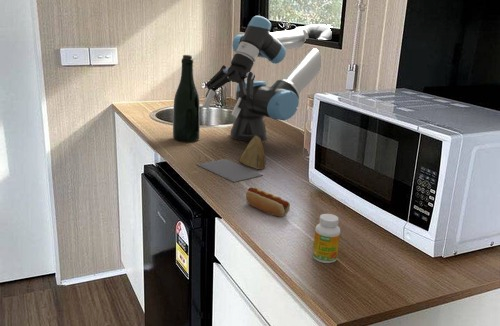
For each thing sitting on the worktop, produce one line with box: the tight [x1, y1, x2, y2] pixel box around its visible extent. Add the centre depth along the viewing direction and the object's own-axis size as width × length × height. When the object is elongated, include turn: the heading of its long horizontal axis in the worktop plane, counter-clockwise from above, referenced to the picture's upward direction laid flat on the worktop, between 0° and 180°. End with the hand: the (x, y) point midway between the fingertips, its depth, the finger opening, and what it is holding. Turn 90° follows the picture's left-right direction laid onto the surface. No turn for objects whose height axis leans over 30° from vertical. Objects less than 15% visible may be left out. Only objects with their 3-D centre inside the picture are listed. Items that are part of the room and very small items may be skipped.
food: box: [245, 187, 291, 218], centre depth 131 cm, size 14×6×5 cm, turn 46°
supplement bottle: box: [312, 213, 341, 264], centre depth 106 cm, size 5×5×10 cm
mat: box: [196, 158, 264, 183], centre depth 161 cm, size 12×20×1 cm, turn 41°
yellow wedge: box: [238, 135, 266, 170], centre depth 166 cm, size 11×9×10 cm
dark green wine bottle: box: [172, 54, 201, 143], centre depth 189 cm, size 10×10×33 cm
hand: (219, 111), depth 170 cm, fingers open, 13 cm apart
